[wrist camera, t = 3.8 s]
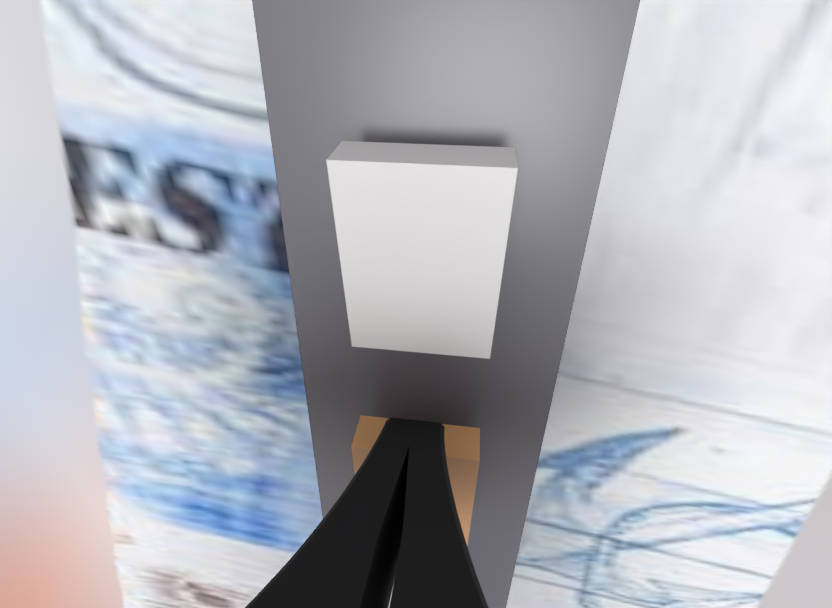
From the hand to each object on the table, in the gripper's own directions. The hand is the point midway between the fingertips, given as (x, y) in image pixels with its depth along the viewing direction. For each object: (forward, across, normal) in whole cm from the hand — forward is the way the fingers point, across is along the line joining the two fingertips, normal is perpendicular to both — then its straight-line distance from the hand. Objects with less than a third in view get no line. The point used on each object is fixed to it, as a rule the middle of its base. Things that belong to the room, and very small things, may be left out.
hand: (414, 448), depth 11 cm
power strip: (+5, 0, +1) cm, 5 cm away
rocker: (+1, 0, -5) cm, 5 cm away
